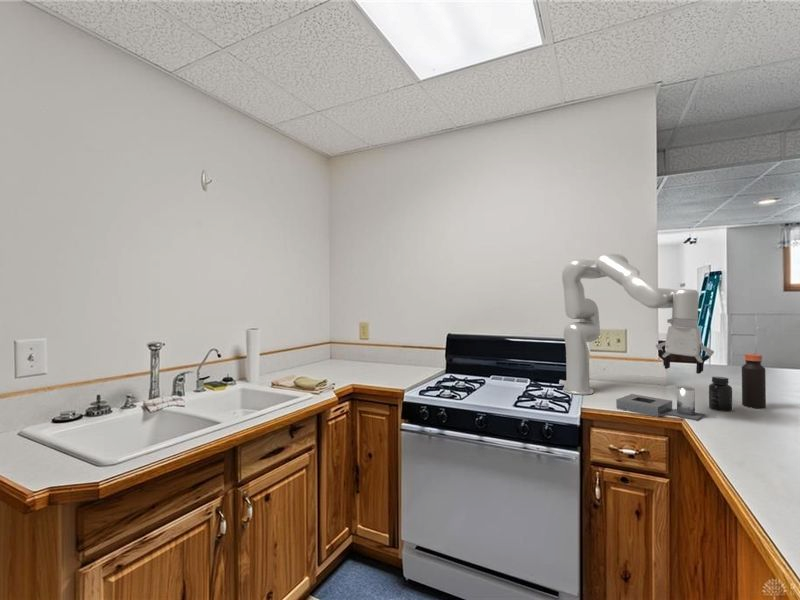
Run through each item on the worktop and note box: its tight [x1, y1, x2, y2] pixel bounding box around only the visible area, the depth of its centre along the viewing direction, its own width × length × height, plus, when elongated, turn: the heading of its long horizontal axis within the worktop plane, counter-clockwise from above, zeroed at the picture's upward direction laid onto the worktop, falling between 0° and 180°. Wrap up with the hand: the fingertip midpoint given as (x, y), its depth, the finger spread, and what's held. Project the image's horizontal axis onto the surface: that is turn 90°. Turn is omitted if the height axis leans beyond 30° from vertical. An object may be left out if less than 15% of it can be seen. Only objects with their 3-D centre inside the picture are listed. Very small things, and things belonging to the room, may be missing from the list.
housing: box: [615, 393, 673, 418], centre depth 147 cm, size 14×14×4 cm
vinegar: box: [741, 353, 767, 409], centre depth 149 cm, size 7×7×20 cm
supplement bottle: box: [708, 376, 733, 412], centre depth 146 cm, size 7×7×12 cm
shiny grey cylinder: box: [676, 385, 696, 416], centre depth 139 cm, size 5×5×9 cm
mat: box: [666, 408, 706, 422], centre depth 139 cm, size 9×9×1 cm
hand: (682, 370), depth 140 cm, fingers open, 9 cm apart
